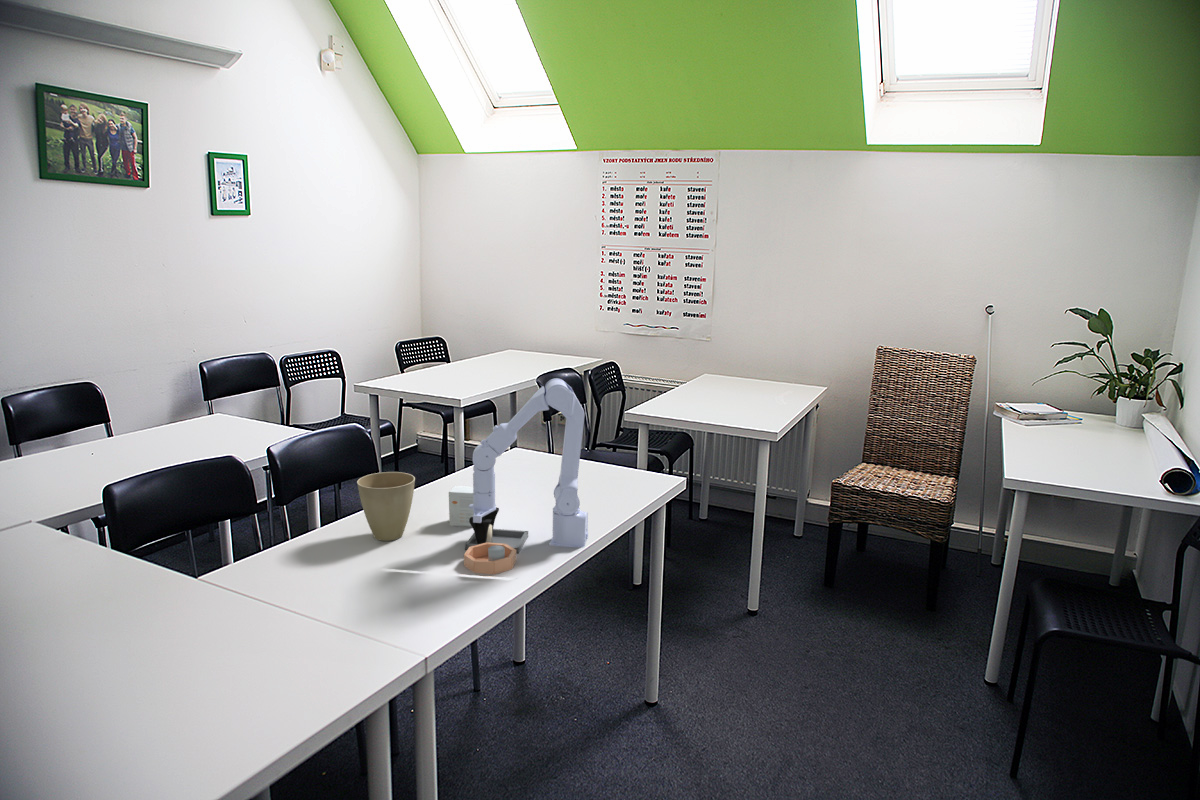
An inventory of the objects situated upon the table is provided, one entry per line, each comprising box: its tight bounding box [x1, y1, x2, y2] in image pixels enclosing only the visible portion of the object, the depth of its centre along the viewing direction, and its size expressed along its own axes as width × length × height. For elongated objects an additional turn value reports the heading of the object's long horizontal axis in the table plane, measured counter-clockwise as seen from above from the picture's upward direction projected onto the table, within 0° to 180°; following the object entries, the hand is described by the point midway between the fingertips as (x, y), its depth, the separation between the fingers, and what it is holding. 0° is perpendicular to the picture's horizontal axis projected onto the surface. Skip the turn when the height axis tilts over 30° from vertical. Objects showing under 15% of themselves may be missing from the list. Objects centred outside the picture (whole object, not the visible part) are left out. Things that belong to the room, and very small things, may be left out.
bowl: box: [463, 542, 517, 577], centre depth 193 cm, size 12×12×4 cm
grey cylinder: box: [488, 545, 505, 561], centre depth 191 cm, size 4×4×4 cm
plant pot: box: [356, 471, 416, 542], centre depth 209 cm, size 15×15×16 cm
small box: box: [448, 485, 474, 528], centre depth 219 cm, size 8×6×10 cm
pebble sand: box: [486, 524, 492, 543], centre depth 206 cm, size 4×4×4 cm
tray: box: [464, 528, 529, 555], centre depth 206 cm, size 14×12×2 cm
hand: (484, 539), depth 206 cm, fingers open, 5 cm apart
